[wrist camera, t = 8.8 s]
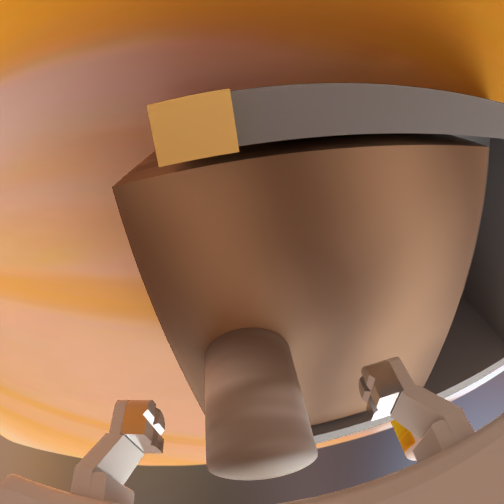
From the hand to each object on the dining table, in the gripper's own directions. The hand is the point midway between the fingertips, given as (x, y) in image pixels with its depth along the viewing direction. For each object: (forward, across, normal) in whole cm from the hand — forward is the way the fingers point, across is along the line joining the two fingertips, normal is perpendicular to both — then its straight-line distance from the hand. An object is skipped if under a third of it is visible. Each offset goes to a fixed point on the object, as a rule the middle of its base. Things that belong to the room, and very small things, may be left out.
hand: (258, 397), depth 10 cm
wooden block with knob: (+10, -4, 0) cm, 11 cm away
